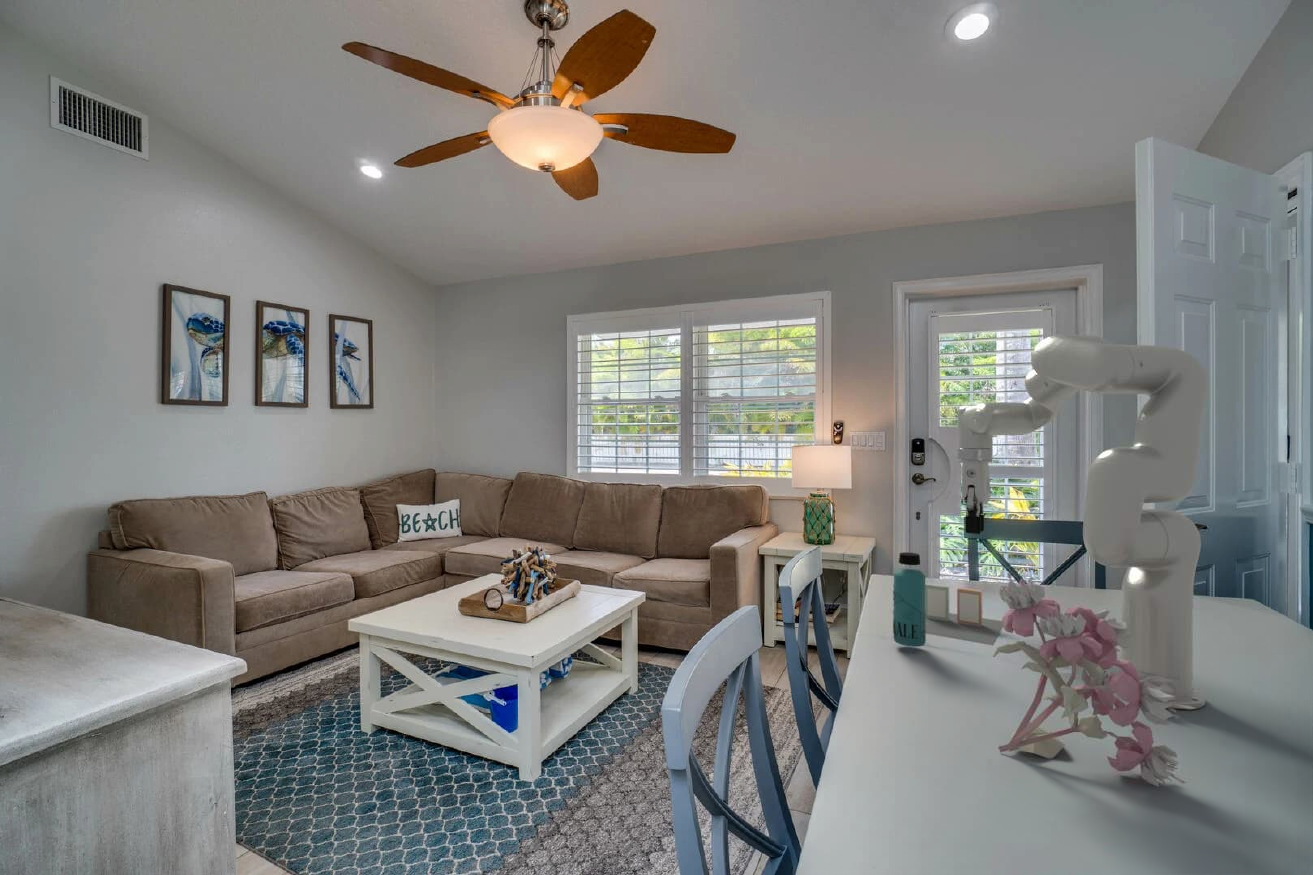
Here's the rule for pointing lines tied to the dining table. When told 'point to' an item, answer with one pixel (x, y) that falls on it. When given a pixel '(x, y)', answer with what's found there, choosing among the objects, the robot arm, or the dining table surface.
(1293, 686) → the dining table surface
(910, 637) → the beverage bottle
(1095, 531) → the robot arm
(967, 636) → the mat
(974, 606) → the tile
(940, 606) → the tile
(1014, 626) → the flower
